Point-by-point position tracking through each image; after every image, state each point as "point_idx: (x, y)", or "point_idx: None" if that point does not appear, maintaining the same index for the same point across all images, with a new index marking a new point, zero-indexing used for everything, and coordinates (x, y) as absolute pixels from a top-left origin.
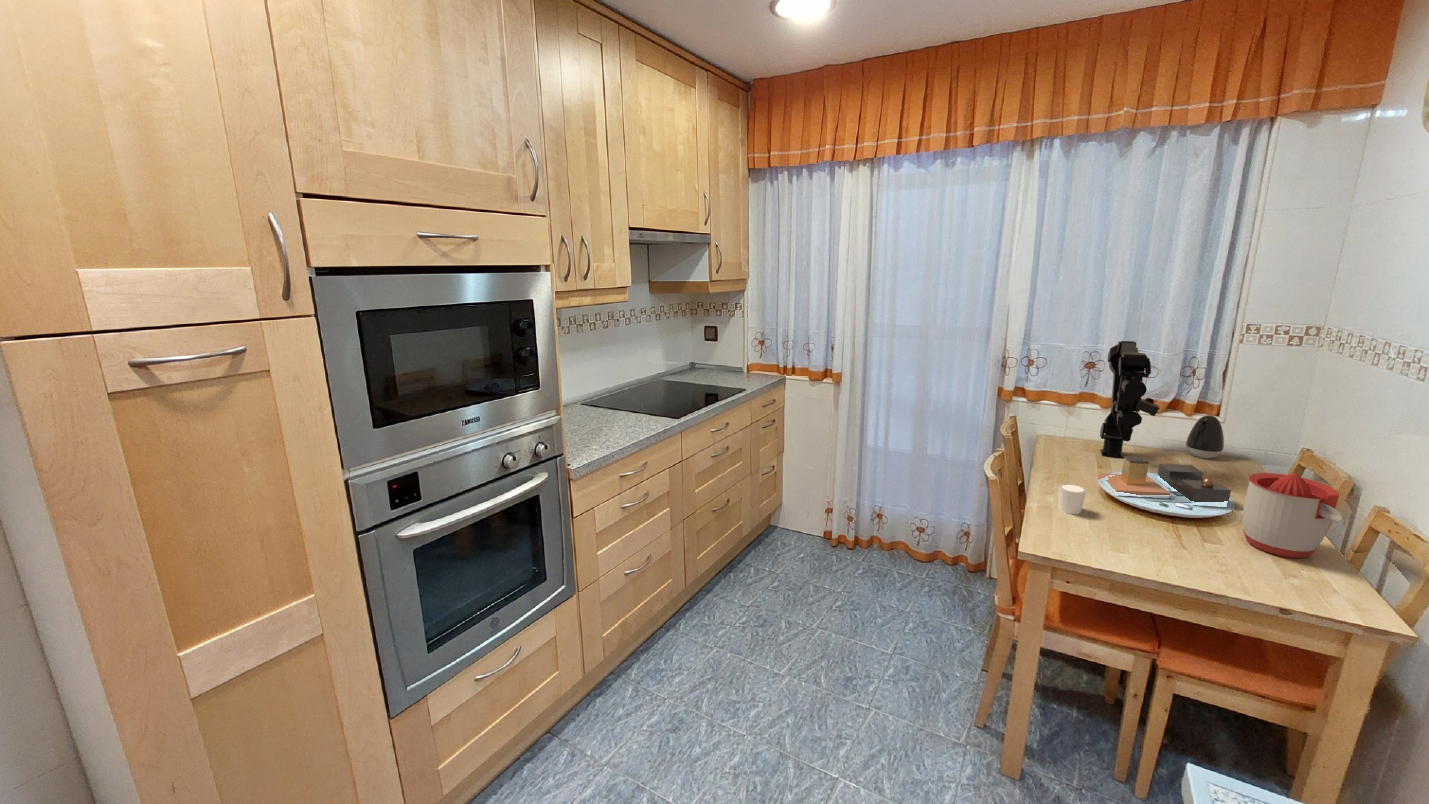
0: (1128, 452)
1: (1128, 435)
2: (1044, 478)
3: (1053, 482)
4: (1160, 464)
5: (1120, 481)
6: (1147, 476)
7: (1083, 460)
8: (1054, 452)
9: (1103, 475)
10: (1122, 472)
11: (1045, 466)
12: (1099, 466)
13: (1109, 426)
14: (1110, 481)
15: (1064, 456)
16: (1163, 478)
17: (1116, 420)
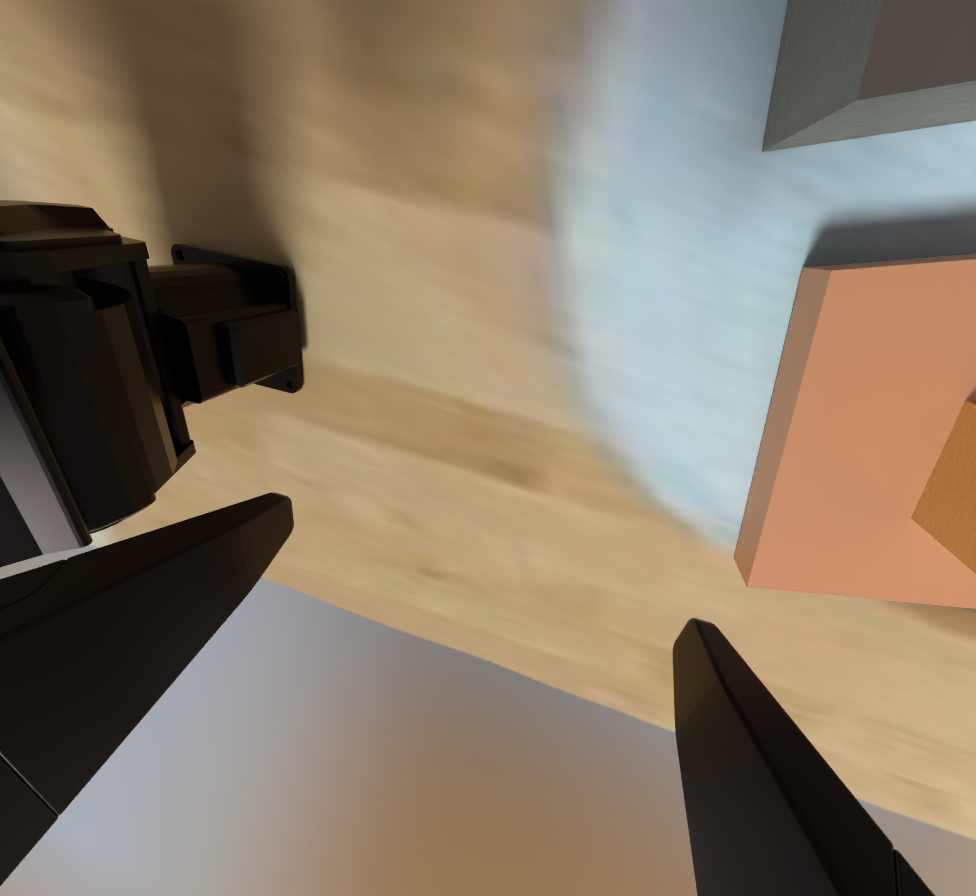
0: (139, 179)
1: (796, 728)
2: None
3: None
4: (893, 93)
5: None
6: (857, 279)
7: (418, 510)
8: (342, 583)
9: (796, 580)
10: (973, 564)
11: (555, 681)
12: (502, 470)
13: (85, 510)
14: (935, 590)
15: (385, 567)
16: (944, 115)
17: (119, 728)
